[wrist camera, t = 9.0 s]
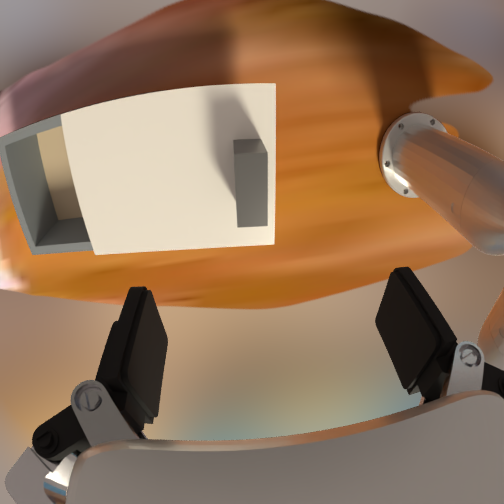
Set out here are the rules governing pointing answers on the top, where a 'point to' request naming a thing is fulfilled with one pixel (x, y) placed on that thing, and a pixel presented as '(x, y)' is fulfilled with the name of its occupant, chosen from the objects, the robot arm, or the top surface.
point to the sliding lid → (176, 168)
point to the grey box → (44, 187)
